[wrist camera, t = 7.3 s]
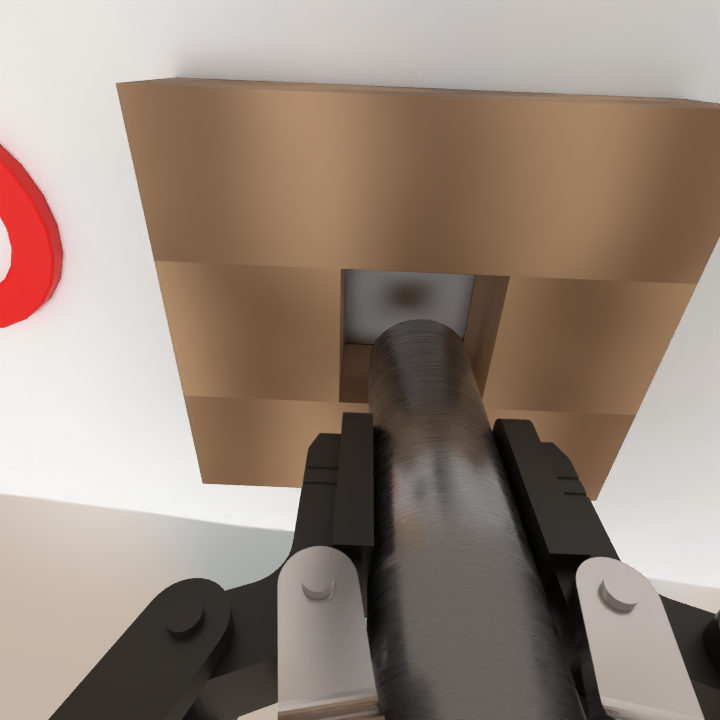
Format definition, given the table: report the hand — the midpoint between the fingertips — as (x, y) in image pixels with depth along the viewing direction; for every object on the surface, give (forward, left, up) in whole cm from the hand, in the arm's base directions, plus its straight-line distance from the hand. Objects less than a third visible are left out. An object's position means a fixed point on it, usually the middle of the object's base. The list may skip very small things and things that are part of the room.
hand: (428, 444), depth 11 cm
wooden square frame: (0, 0, -9) cm, 9 cm away
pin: (0, 0, -4) cm, 4 cm away
